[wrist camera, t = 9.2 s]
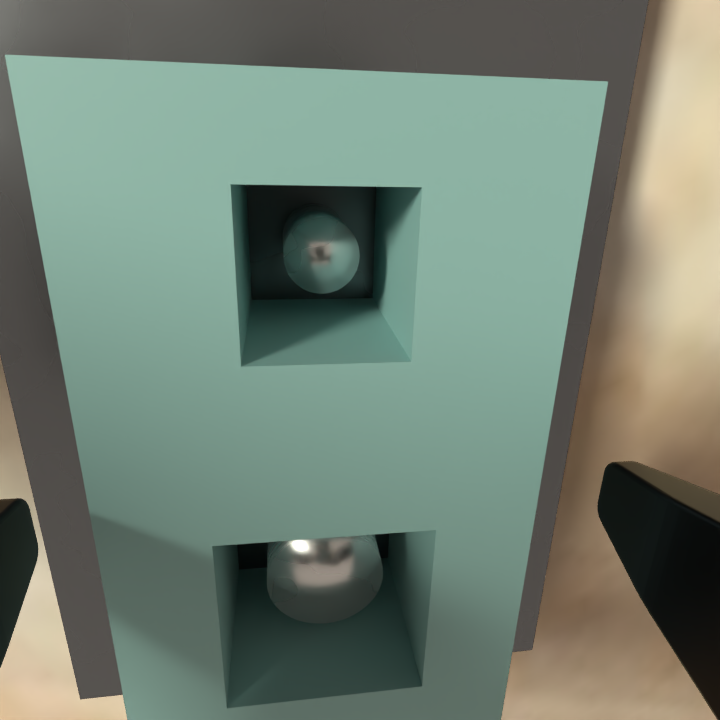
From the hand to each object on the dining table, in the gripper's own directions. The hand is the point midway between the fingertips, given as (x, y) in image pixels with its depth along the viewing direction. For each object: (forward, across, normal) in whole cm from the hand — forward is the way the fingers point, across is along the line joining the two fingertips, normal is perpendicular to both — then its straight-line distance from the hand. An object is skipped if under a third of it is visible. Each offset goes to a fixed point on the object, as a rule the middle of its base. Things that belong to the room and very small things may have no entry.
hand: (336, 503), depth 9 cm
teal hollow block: (+4, 0, 0) cm, 4 cm away
